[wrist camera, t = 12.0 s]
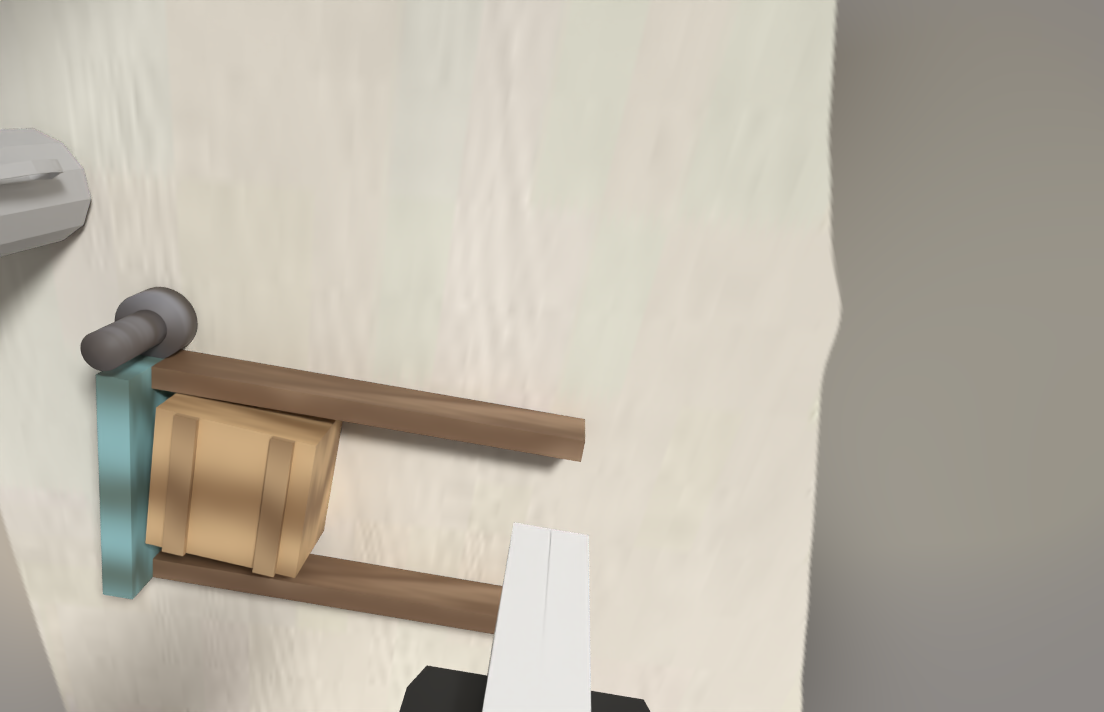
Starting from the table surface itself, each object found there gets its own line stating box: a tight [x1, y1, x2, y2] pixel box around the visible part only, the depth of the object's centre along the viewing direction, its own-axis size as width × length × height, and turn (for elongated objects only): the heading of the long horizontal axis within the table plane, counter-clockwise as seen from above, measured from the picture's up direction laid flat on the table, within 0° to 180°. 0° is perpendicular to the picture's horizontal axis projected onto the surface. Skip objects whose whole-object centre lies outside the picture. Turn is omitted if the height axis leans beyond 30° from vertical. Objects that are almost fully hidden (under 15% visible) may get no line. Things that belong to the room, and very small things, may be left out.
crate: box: [145, 393, 342, 578], centre depth 50 cm, size 10×10×6 cm
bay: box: [81, 287, 585, 634], centre depth 49 cm, size 20×31×7 cm, turn 80°
